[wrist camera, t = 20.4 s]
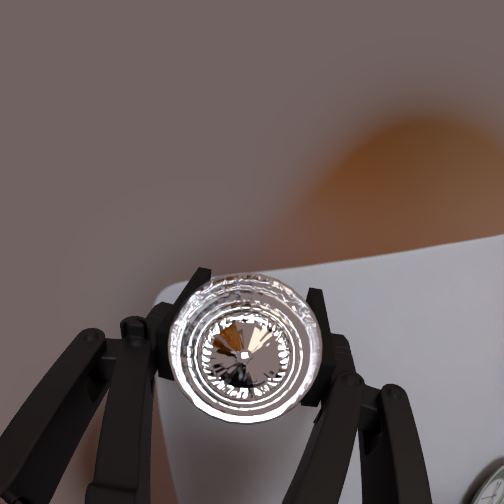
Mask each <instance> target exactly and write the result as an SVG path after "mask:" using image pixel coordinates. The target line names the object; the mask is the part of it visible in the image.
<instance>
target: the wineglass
mask: <svg viewBox="0 0 504 504" xmlns="http://www.w3.org/2000/svg"><path fill="white" fill-rule="evenodd" d="M322 353H323V345H322V337H321V331H320V328H319V325H318V322H317V320H316V317H315V314H314V313H313V311H312V310H311V308H310V307H309V305H308V304H307V302H306V301H305V300H304V299H303V298H302V297H301V296H300V295H299V294H298V293H297V292H296V291H295V290H294V289H293V288H291V287H290V286H288V285H286V284H284V283H283V282H281V281H279V280H277V279H275V278H272V277H268V276H265V275H262V274H254V273H236V274H228V275H223V276H220V277H217V278H215V279H212V280H210V281H208V282H207V283H205V284H203V285H201V286H200V287H199V288H197V289H196V290H195V291H194V292H192V293H191V294H190V295H189V296H188V298H187V299H186V300H185V301H184V302H183V303H182V305H181V307H180V308H179V310H178V311H177V313H176V315H175V317H174V320H173V322H172V325H171V328H170V333H169V338H168V358H169V363H170V368H171V372H172V374H173V377H174V379H175V381H176V383H177V385H178V387H179V389H180V391H181V392H182V393H183V395H184V396H185V397H186V398H187V399H188V400H189V401H190V403H191V404H193V405H194V406H195V407H196V408H197V409H199V410H200V411H202V412H203V413H205V414H206V415H208V416H210V417H212V418H214V419H217V420H220V421H223V422H226V423H230V424H239V425H253V424H260V423H265V422H269V421H272V420H274V419H277V418H279V417H281V416H283V415H285V414H286V413H288V412H289V411H291V410H292V409H294V408H295V407H296V406H297V405H298V404H299V403H300V402H301V401H302V400H303V399H304V398H305V396H306V395H307V394H308V392H309V391H310V390H311V388H312V386H313V384H314V383H315V381H316V379H317V376H318V372H319V369H320V365H321V360H322Z"/></svg>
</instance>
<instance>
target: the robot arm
mask: <svg viewBox="0 0 504 504" xmlns="http://www.w3.org/2000/svg"><path fill="white" fill-rule="evenodd" d="M210 279H211V269H206V268H201V267H199V268H198V269H197V271H196V272H195V274H194V275H193V277H192V278H191V279H190V281H189V282H188V284H187V285H186V287H185V288H184V290H183V291H182V293H181V294H180V296H179V297H178V298H177V300H176V301H175V303H174V304H169V303H165V302H161V303H159V304H157V305H155V306H154V307H153V309H152V310H151V312H150V313H149V314H148V315H147V317H146V318H143V317H139V316H131V317H127V318H125V319H124V320H122V321H121V323H120V328H121V335H122V339H109V338H105V334H104V333H103V331H101V330H99V329H96V328H88V329H85V330H83V331H81V332H80V333H79V334H78V335H77V337H76V338H75V339H74V340H73V341H72V342H71V344H70V345H69V346H68V347H67V348H66V350H65V351H64V352H63V353H62V354H61V356H60V357H59V358H58V359H57V361H56V362H55V363H54V364H53V366H52V367H51V368H50V369H49V371H48V372H47V373H46V374H45V376H44V377H43V378H42V380H41V381H40V382H39V384H38V385H37V386H36V387H35V389H34V390H33V391H32V393H31V394H30V395H29V397H28V398H27V400H26V401H25V402H24V404H23V405H22V406H21V408H20V409H19V411H18V412H17V413H16V415H15V416H14V418H13V419H12V420H11V422H10V423H9V425H8V426H7V428H6V429H5V431H4V432H3V434H2V435H1V437H0V504H49V502H50V501H51V499H52V497H53V495H54V493H55V490H56V488H57V486H58V484H59V482H60V480H61V478H62V476H63V473H64V472H65V470H66V468H67V465H68V464H69V461H70V460H71V457H72V456H73V454H74V452H75V449H76V448H77V446H78V444H79V442H80V440H81V438H82V436H83V434H84V432H85V431H86V429H87V427H88V425H89V423H90V421H91V419H92V417H93V416H94V414H95V412H96V410H97V408H98V407H99V405H100V403H101V401H102V399H103V397H104V396H105V394H106V392H107V390H108V389H109V387H110V389H109V392H108V397H107V402H106V406H105V412H104V416H103V422H102V427H101V433H100V438H99V444H98V452H97V457H96V465H95V472H94V479H93V482H92V483H90V484H89V485H88V487H87V489H86V495H85V504H150V456H151V430H152V411H153V398H154V386H155V379H154V375H155V373H156V371H157V370H158V376H159V377H162V378H165V379H168V380H172V381H174V380H175V379H174V377H173V374H172V372H171V368H170V363H169V358H168V338H169V333H170V328H171V325H172V322H173V320H174V317H175V315H176V313H177V311H178V310H179V308H180V307H181V305H182V303H183V302H184V301H185V300H186V299H187V298H188V296H189V295H190V294H191V293H192V292H194V291H195V290H196V289H197V288H199V287H200V286H201V285H203V284H205V283H207V282H208V281H210ZM306 302H307V304H308V305H309V307H310V308H311V310H312V311H313V313H314V314H315V317H316V320H317V322H318V325H319V328H320V331H321V337H322V345H323V353H322V360H321V365H320V369H319V372H318V376H317V379H316V381H315V383H314V384H313V386H312V388H311V390H310V391H309V392H308V394H307V395H306V396H305V398H304V399H303V400H302V401H301V405H302V406H311V407H317V406H318V404H319V402H320V400H321V409H320V411H319V413H318V415H317V416H316V418H315V420H314V422H313V423H315V424H314V427H313V429H312V432H311V435H310V437H309V440H308V443H307V445H306V448H305V450H304V453H303V456H302V458H301V460H300V463H299V465H298V468H297V470H296V473H295V475H294V477H293V479H292V482H291V484H290V486H289V489H288V491H287V493H286V495H285V497H284V499H283V502H282V504H338V502H339V498H340V495H341V492H342V488H343V485H344V481H345V478H346V474H347V470H348V466H349V462H350V458H351V454H352V450H353V446H354V441H355V436H356V432H357V428H358V437H359V449H360V463H361V480H362V504H432V499H431V493H430V487H429V481H428V476H427V471H426V466H425V462H424V457H423V453H422V448H421V444H420V440H419V436H418V432H417V428H416V424H415V421H414V417H413V413H412V410H411V406H410V403H409V399H408V396H407V394H406V392H405V390H404V389H403V388H402V387H400V386H398V385H395V384H386V385H384V386H383V387H382V389H381V390H380V389H376V388H373V387H370V386H368V385H366V384H365V383H364V380H363V378H362V377H361V376H360V375H359V374H358V373H356V370H355V366H354V362H353V358H352V355H351V350H350V346H349V342H348V340H347V339H346V338H345V337H344V335H340V334H333V333H331V332H330V327H329V322H328V317H327V312H326V307H325V302H324V297H323V293H322V290H321V289H315V288H309V291H308V295H307V298H306Z"/></svg>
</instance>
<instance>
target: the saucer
mask: <svg viewBox="0 0 504 504" xmlns="http://www.w3.org/2000/svg"><path fill="white" fill-rule="evenodd" d="M471 504H504V464H502V465H501V466H500V467H499V468H498V469H496V470H495V471H494V472H493V473H492V474H491V475H490V476H489V477H488V478H487V479H486V481H485V482H484V483H483V484H482V486H481V487H480V488H479V490H478V491H477V493H476V495H475V496H474V498H473V500H472V502H471Z"/></svg>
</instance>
